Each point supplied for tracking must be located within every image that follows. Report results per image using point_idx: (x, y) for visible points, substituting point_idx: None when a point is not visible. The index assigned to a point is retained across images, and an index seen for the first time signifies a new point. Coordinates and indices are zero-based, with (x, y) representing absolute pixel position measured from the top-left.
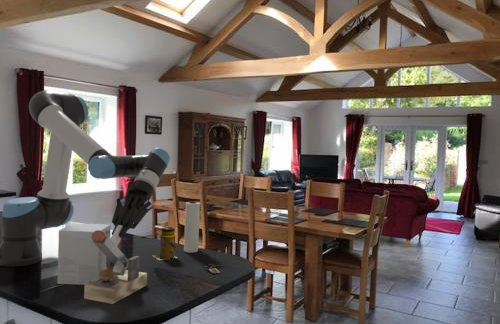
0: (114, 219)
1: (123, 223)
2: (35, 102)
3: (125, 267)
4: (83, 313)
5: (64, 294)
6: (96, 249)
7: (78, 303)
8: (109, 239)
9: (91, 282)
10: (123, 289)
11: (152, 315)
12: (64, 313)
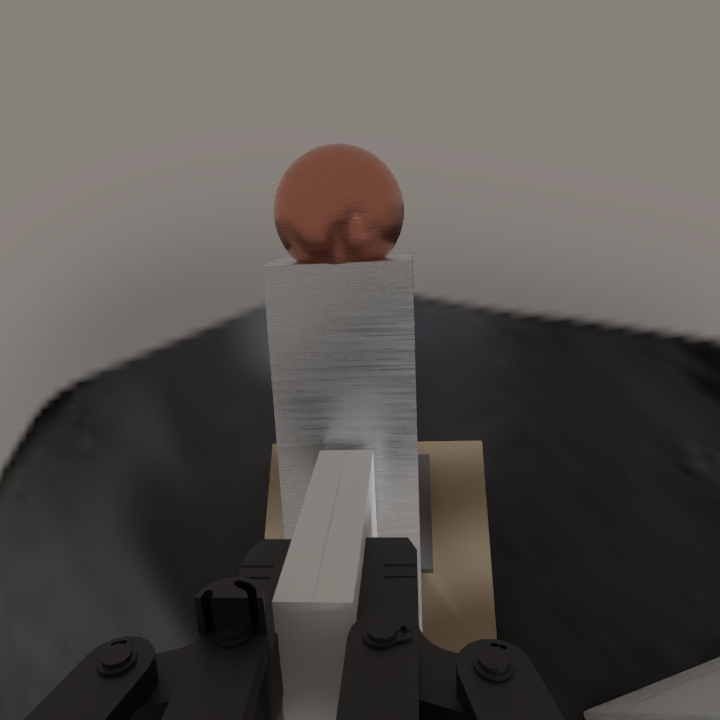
0: (497, 691)
1: (231, 587)
2: None
3: None
4: None
5: (622, 473)
6: (694, 706)
7: (452, 405)
8: (269, 315)
9: (480, 498)
10: None
11: (45, 433)
12: (422, 297)
